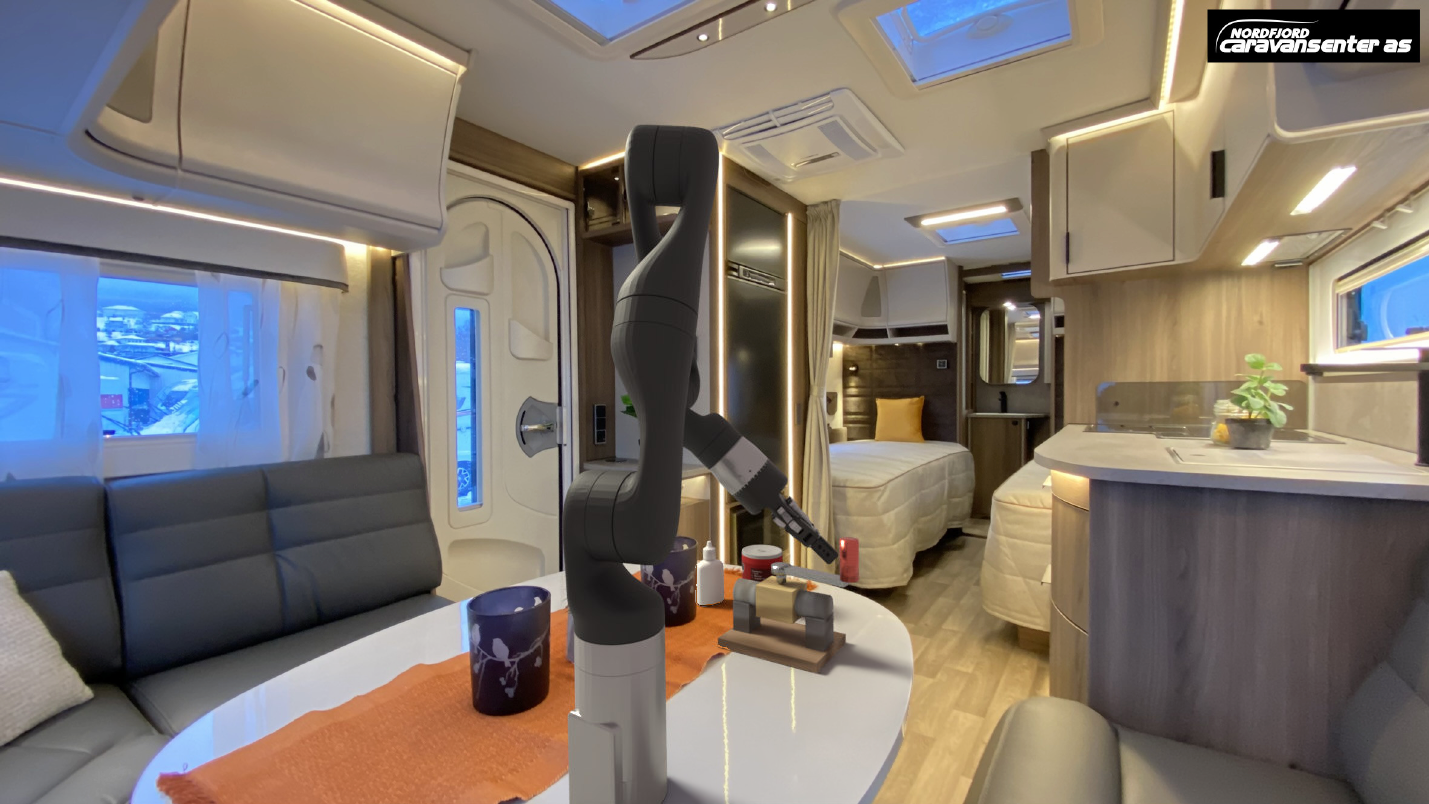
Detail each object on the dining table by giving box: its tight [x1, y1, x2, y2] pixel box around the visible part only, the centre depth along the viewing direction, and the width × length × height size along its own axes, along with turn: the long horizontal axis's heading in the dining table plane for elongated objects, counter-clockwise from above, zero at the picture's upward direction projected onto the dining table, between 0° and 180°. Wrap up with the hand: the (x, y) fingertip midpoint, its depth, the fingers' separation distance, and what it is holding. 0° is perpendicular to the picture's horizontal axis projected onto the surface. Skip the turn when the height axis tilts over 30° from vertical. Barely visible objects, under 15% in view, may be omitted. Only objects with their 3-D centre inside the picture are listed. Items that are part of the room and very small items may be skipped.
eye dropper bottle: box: [696, 540, 725, 606], centre depth 115 cm, size 4×6×12 cm
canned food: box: [741, 544, 784, 582], centre depth 112 cm, size 8×8×11 cm
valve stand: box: [717, 576, 847, 674], centre depth 95 cm, size 12×17×10 cm
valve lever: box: [771, 536, 860, 588], centre depth 91 cm, size 15×3×9 cm, turn 50°
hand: (833, 558), depth 85 cm, fingers closed
